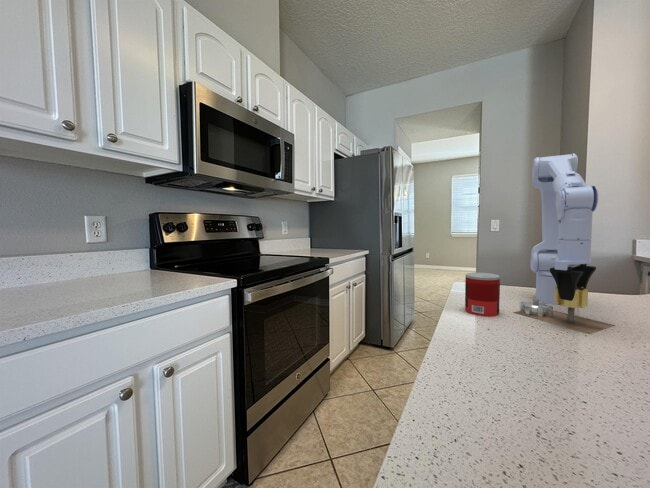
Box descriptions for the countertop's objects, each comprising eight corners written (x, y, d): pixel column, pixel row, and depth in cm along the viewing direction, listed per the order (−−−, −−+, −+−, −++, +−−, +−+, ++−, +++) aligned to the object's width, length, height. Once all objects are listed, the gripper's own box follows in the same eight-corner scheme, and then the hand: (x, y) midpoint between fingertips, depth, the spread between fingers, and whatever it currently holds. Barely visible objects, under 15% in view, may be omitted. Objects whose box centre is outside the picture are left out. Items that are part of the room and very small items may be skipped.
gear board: (538, 310, 78) (538, 294, 78) (615, 329, 63) (616, 310, 63) (512, 316, 74) (512, 299, 73) (589, 338, 59) (589, 317, 59)
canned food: (505, 320, 71) (506, 277, 70) (473, 320, 71) (474, 277, 70) (488, 310, 79) (489, 272, 78) (459, 311, 79) (460, 272, 78)
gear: (529, 307, 77) (530, 300, 77) (558, 315, 71) (559, 306, 71) (513, 311, 74) (513, 303, 74) (542, 319, 68) (542, 310, 68)
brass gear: (590, 305, 65) (591, 288, 64) (581, 309, 62) (582, 291, 61) (560, 299, 69) (561, 283, 69) (550, 303, 66) (551, 287, 66)
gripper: (565, 237, 71) (563, 290, 72) (539, 240, 64) (537, 298, 65) (602, 238, 65) (600, 295, 66) (579, 241, 58) (576, 305, 59)
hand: (571, 297), depth 65 cm, fingers closed on brass gear, 6 cm apart
